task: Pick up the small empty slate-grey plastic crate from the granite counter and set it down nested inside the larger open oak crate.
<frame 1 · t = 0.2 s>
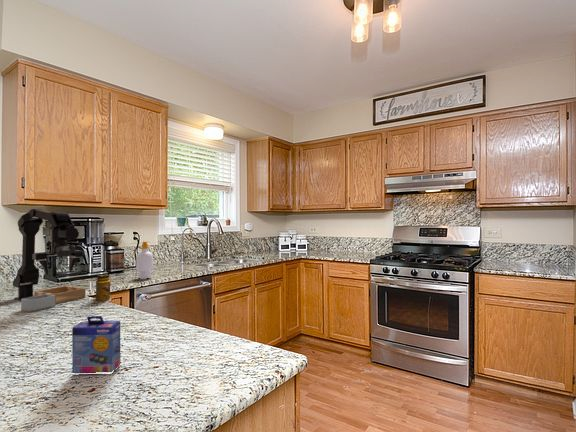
hand: (58, 273, 154), 14 cm above the counter, tool pointing down, fingers open, 9 cm apart
big crate: (60, 299, 164), on the counter
condiment: (100, 300, 162), on the counter
soap bottle: (144, 278, 222), on the counter
small crate: (38, 308, 147), on the counter
ink cartridge box: (96, 371, 86), on the counter
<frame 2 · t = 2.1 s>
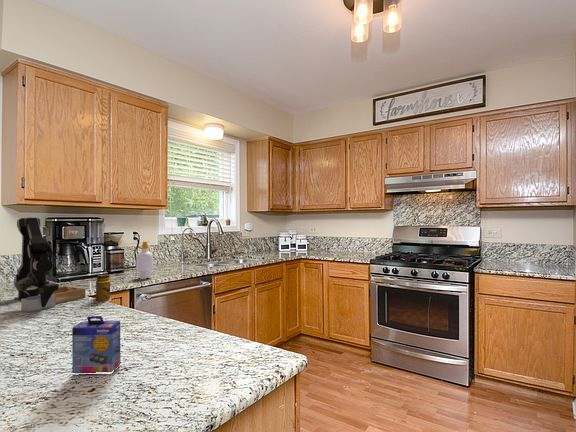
hand: (38, 306, 147), 1 cm above the counter, tool pointing down, fingers closed on small crate, 6 cm apart
small crate: (38, 308, 147), on the counter, touching gripper
everything else where it was.
when the fingers open (4 cm above the counter, at t = 6.3 s): small crate drops 2 cm, resting on big crate.
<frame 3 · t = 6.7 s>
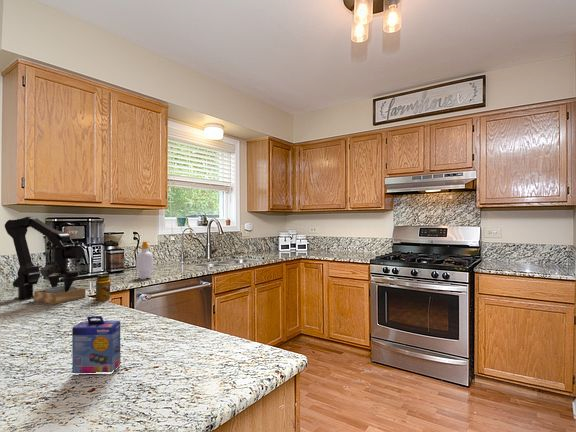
hand: (60, 290, 164), 4 cm above the counter, tool pointing down, fingers open, 9 cm apart
small crate: (60, 297, 164), point 1 cm above the counter, touching big crate
everything else where it was.
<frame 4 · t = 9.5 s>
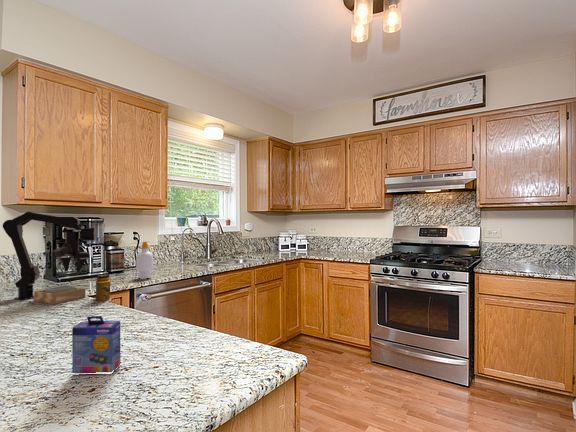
hand: (72, 271, 174), 12 cm above the counter, tool pointing down, fingers open, 9 cm apart
nothing on the counter moved.
at the end: small crate inside the target area on the big crate (0.1 cm from its centre), point 0.8 cm above the big crate's base; small crate tilted 0°; the gripper is holding nothing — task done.
